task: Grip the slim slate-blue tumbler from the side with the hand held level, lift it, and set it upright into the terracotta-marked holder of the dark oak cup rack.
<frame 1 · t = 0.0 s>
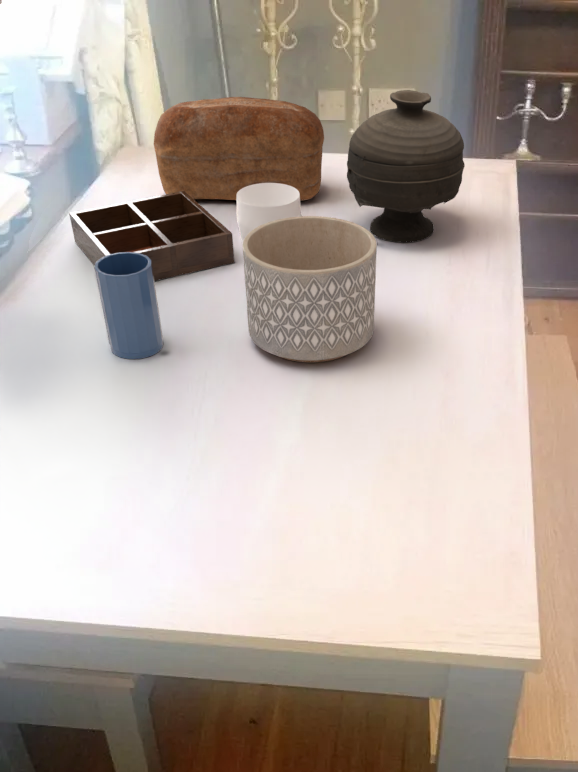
tumbler: (137, 345, 117), on the table
planter: (311, 338, 119), on the table
cup: (272, 280, 131), on the table
pot: (402, 230, 144), on the table
cup rack: (153, 252, 137), on the table
bread: (243, 194, 154), on the table
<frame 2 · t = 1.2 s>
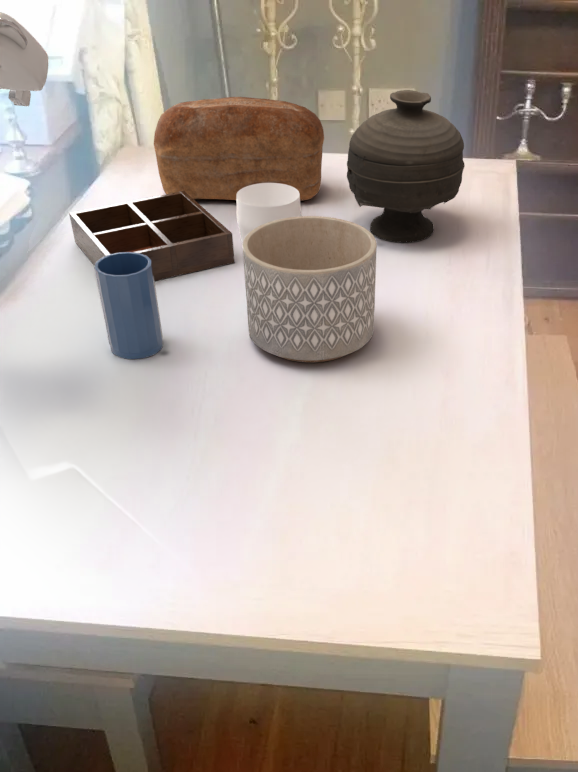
nothing on the table moved.
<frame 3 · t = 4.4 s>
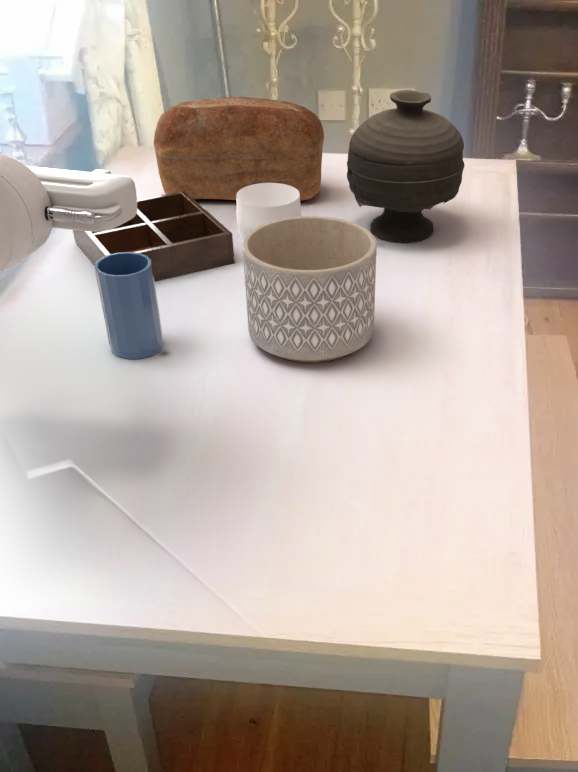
hand: (61, 174, 93), 25 cm above the table, tool horizontal, fingers open, 8 cm apart
nothing on the table moved.
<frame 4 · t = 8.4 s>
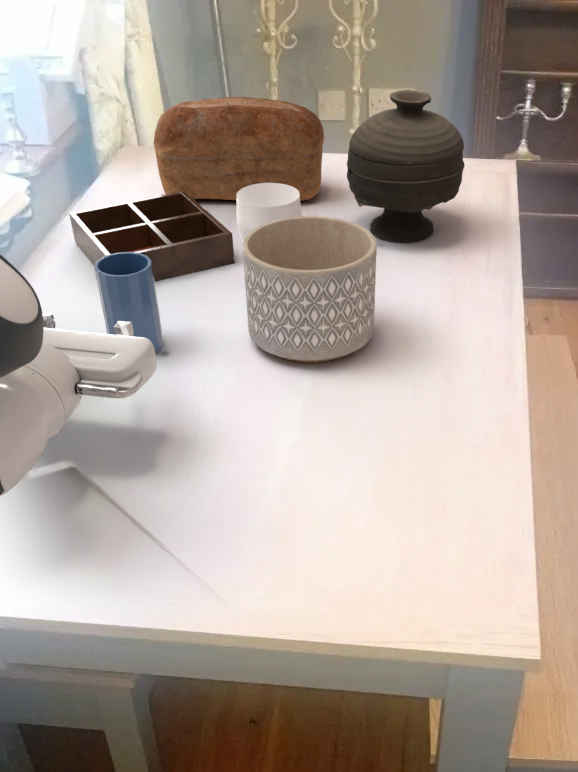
hand: (87, 323, 102), 9 cm above the table, tool horizontal, fingers open, 8 cm apart
nothing on the table moved.
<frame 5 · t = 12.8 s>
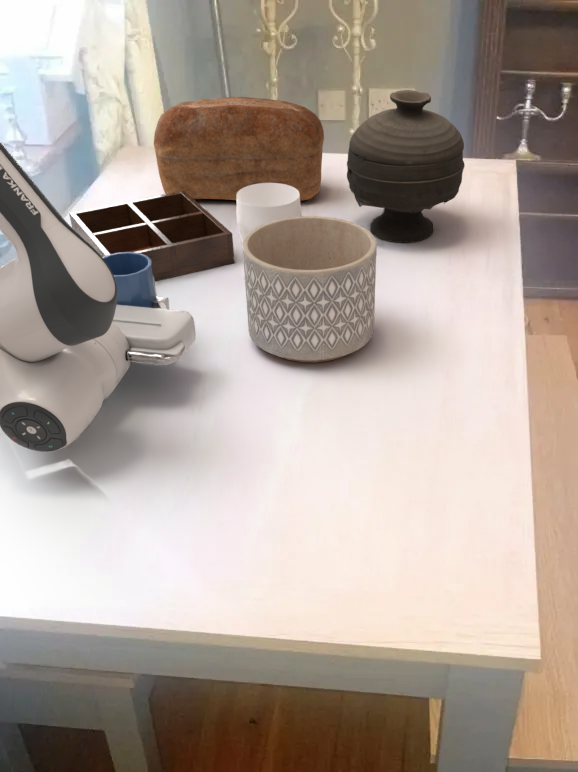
hand: (131, 299, 113), 6 cm above the table, tool horizontal, fingers closed on tumbler, 7 cm apart
tumbler: (137, 345, 117), on the table, touching gripper
everything else where it was.
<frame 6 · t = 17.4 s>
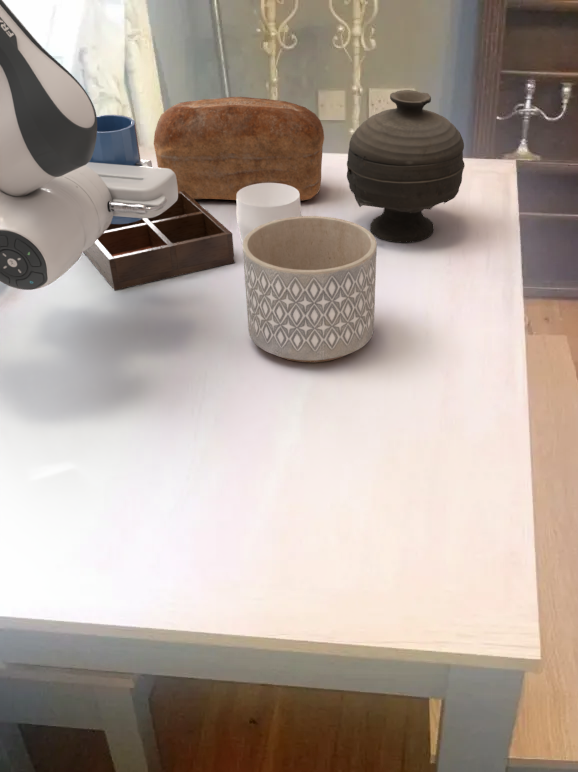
hand: (115, 163, 115), 18 cm above the table, tool horizontal, fingers closed on tumbler, 7 cm apart
tumbler: (121, 213, 118), point 12 cm above the table, touching gripper
everything else where it was.
when the fingers open (7 cm above the table, at t = 22.5 s): tumbler stays where it is, resting on cup rack.
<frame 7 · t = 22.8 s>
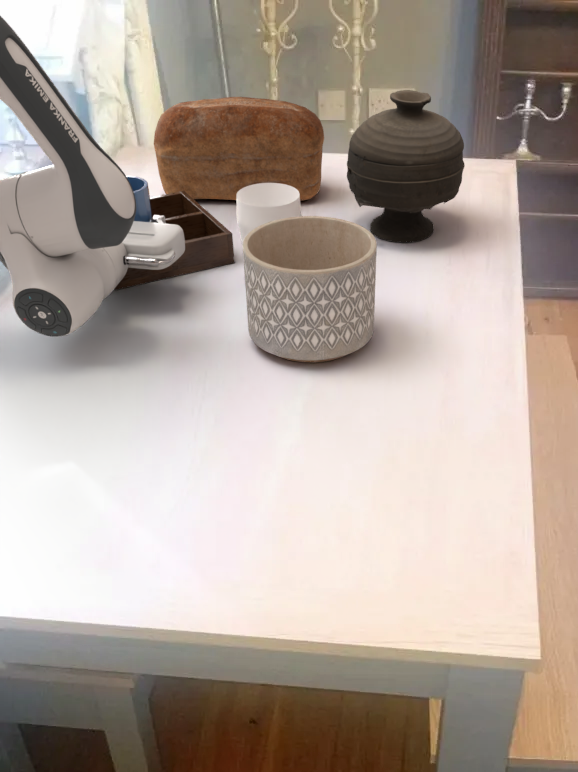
hand: (129, 217, 129), 7 cm above the table, tool horizontal, fingers open, 8 cm apart
tumbler: (135, 262, 132), point 1 cm above the table, touching cup rack
everything else where it was.
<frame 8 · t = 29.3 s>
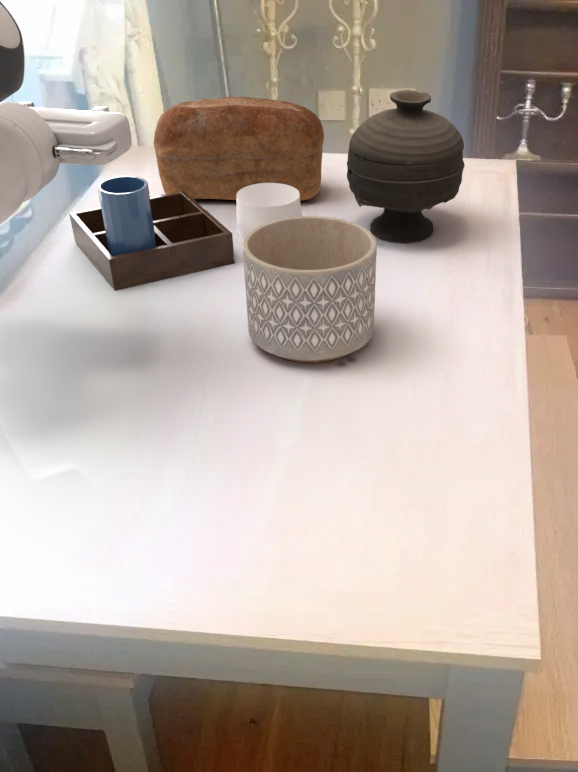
hand: (66, 111, 107), 25 cm above the table, tool horizontal, fingers open, 8 cm apart
nothing on the table moved.
at the end: tumbler 0.1 cm from the target spot in the cup rack, point 1.2 cm above the cup rack's base; tumbler tilted 0°; the gripper is holding nothing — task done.
